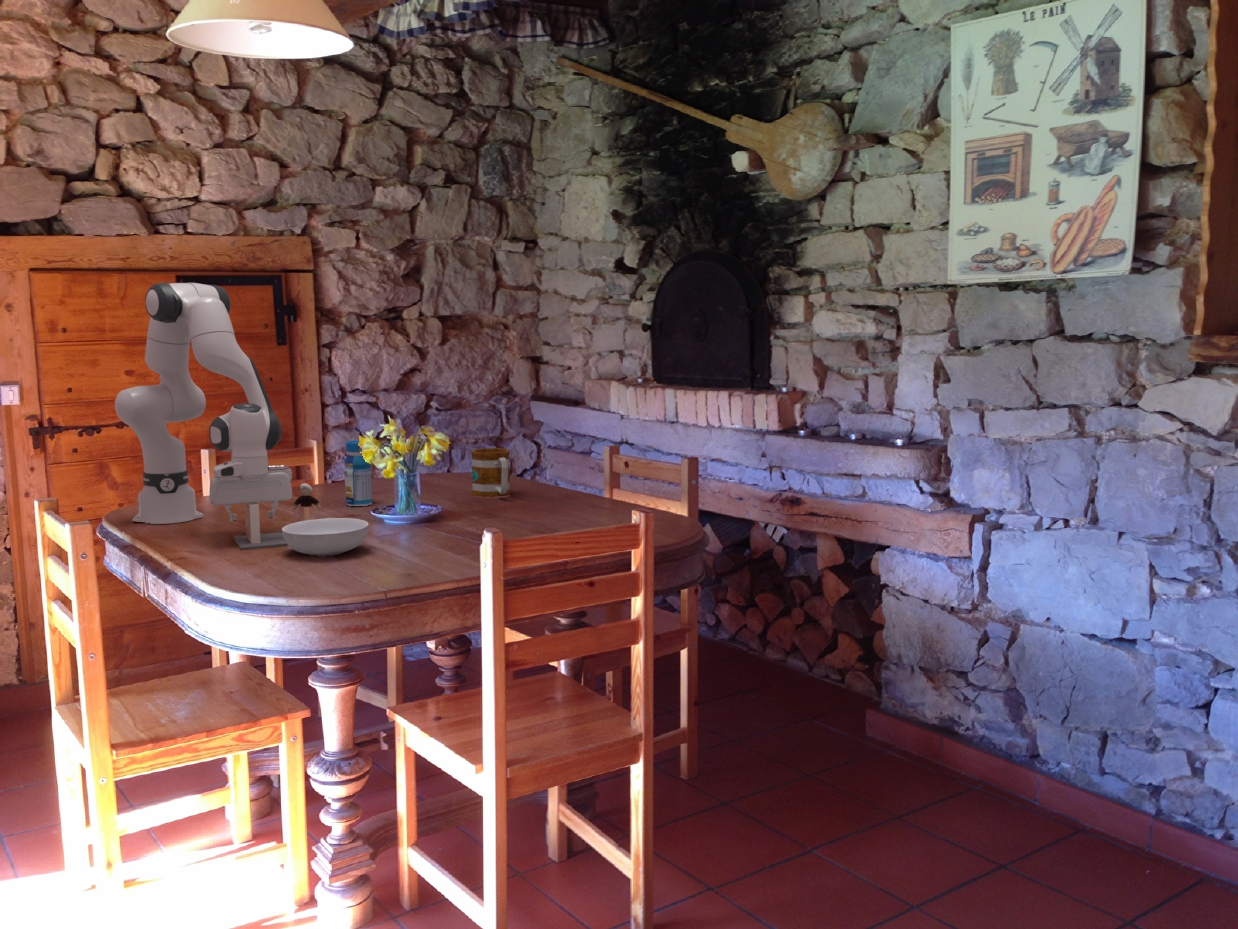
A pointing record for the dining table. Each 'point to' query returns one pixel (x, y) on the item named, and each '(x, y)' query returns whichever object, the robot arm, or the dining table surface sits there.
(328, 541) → the serving bowl
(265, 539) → the mat
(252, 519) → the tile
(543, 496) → the dining table surface
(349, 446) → the beverage bottle
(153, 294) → the robot arm
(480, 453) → the mug
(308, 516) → the grandmother figurine
